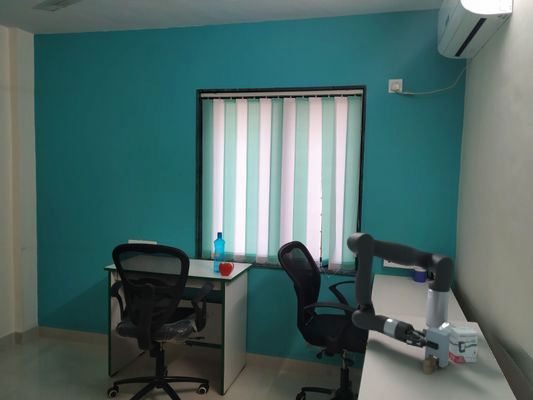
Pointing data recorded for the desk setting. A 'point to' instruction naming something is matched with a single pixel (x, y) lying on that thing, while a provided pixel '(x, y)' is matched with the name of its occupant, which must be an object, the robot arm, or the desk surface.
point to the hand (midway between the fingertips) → (440, 345)
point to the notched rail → (430, 364)
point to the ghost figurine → (447, 327)
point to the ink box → (463, 345)
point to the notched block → (442, 340)
